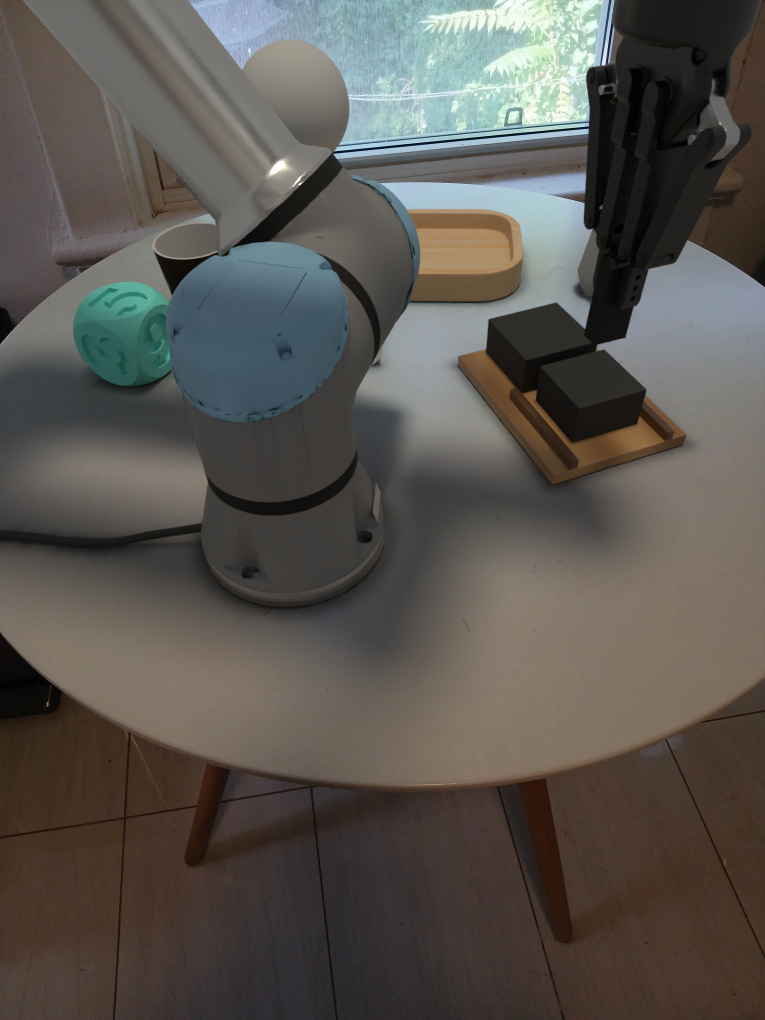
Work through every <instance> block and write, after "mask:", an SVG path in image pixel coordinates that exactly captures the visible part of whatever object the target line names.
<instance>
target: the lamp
mask: <svg viewBox="0 0 765 1020" xmlns="http://www.w3.org/2000/svg"><path fill="white" fill-rule="evenodd" d="M241 69H242V71H243V72H244V73H245V74H246V76H247V77H248V78H249V80H250V81H251V82H252V84H253V85H254V86H255V87H256V89H257V90H258V91H259V93H260V94H261V95H262V96H263V98H264V99H265V100H266V102H267V103H268V104H269V105H270V107H271V108H272V109H273V111H274V112H275V113H276V114H277V116H278V117H279V118H280V120H281V121H282V122H283V123H284V125H285V126H286V127H287V129H288V130H289V131H290V132H291V134H292V135H293V136H294V138H295V139H296V140H297V141H298V142H300V143H301V144H303V145H309V146H316V147H323V148H328V149H329V150H330V151H331V152H332V153H333V154H334V152H335V151H336V150H337V148H338V147H339V145H340V144H341V142H342V141H343V138H344V136H345V134H346V131H347V128H348V124H349V119H350V98H349V93H348V88H347V85H346V82H345V79H344V77H343V75H342V73H341V71H340V69H339V68H338V67H337V65H336V64H335V63H334V61H333V60H332V59H331V58H330V57H329V56H328V55H327V54H326V53H325V52H324V51H322V50H321V49H319V48H318V47H317V46H315V45H313V44H311V43H308V42H306V41H302V40H299V39H279V40H275V41H272V42H269V43H267V44H265V45H264V46H261V47H260V48H259V49H257V50H256V51H255V52H254V53H253V54H252V55H251V56H250V57H249V58H248V59H247V61H246V62H245V64H244V65H243V67H242V68H241ZM406 209H407V208H406ZM407 211H408V213H409V214H410V216H411V218H412V220H413V223H414V225H415V228H416V231H417V234H418V239H419V244H420V267H419V273H418V276H417V280H416V282H415V285H414V289H413V293H412V296H411V298H410V301H409V302H486V301H487V302H489V301H493V300H494V301H495V300H498V299H502V298H505V297H507V296H509V295H511V294H512V293H513V292H515V291H516V290H517V289H518V288H519V286H520V284H521V279H522V271H523V270H522V269H523V260H524V248H523V246H524V245H523V238H522V230H521V225H520V223H519V222H518V221H517V219H515V218H513V216H510V215H509V214H506V213H504V212H501V211H498V210H491V209H484V208H483V209H482V208H418V209H417V208H408V209H407Z"/></svg>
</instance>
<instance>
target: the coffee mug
mask: <svg viewBox="0 0 765 1020" xmlns="http://www.w3.org/2000/svg"><path fill="white" fill-rule="evenodd" d="M151 243H152V244H151V249H152V250H153V253H154V256H155V258H156V261H157V263H158V265H159V269H160V270H161V273H162V275H163V278H164V280H165V283H166V285H167V287H168V290H169V293H170V295H171V296H172V295H173V293H174V291H175V290H176V288H177V287H178V285H179V284H180V282H181V281H182V280H183V279H184V278H185V277H186V276H187V275H188V274H189V273H190V272H191V271H192V270H193V269H194V268H196V267H197V266H198V265H200V264H201V263H202V262H204V261H206V260H207V259H209V258H211V257H212V256H215V255H217V256H220V255H219V254H218V253H217V227H216V223H214V222H207V221H206V222H205V221H204V222H203V221H202V222H201V221H199V222H198V221H197V222H187V223H182V224H180V225H179V224H178V225H176V226H175V225H174V226H173V227H170V228H168V229H165V230H164V231H162V232H161V233H159V234H158V235H157V236H156V237H155V238H154V239H153V241H152V242H151Z"/></svg>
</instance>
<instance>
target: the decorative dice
mask: <svg viewBox="0 0 765 1020" xmlns="http://www.w3.org/2000/svg"><path fill="white" fill-rule="evenodd" d="M169 302H170V300H168V299H167V297H166V296H165V295H164V294H162V293H161V292H160V291H158V290H157V289H155V288H154V287H152V286H151V285H148V284H146V283H143V282H138V281H120V282H114V283H109V284H105V285H103V286H100V287H98V288H95V289H94V290H92V291H91V292H89V293H87V294H86V295H85V297H83V298H82V300H81V302H80V303H79V305H78V306H77V309H76V311H75V314H74V318H73V322H72V323H73V324H72V334H73V341H74V345H75V348H76V350H77V352H78V354H79V356H80V357H81V358H82V360H83V362H84V363H85V364H86V365H87V366H88V368H89V369H90V370H92V372H94V373H95V374H96V375H97V376H98V377H100V378H101V379H103V380H105V381H106V382H108V383H111V384H112V385H113V384H114V385H117V386H122V387H139V386H145V385H149V384H150V383H153V382H156V381H158V380H160V379H162V378H163V377H165V376H166V375H167V374H168V373H169V372H170V371H172V368H171V362H170V347H169V343H168V338H167V332H166V314H167V309H168V306H169Z"/></svg>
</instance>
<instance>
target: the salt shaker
mask: <svg viewBox="0 0 765 1020" xmlns="http://www.w3.org/2000/svg"><path fill="white" fill-rule="evenodd" d="M602 207H603V205H601V206H600V209H602ZM596 235H597V234H596V233H595V231H594V229H591V231H590V235H589V237H588V241H587V243H586V246H585V248H584V250H583V254H582V257H581V259H580V261H579V264H578V267H577V277H578V280H579V283H580V287H581V290H582V291H583V293H584V295H585V296H586V297H588V298H591V299H592V295H593V290H594V287H593V276H594V272H595V267H596V262H597V257H598V253H599V248H598V247H597V245H596Z"/></svg>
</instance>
